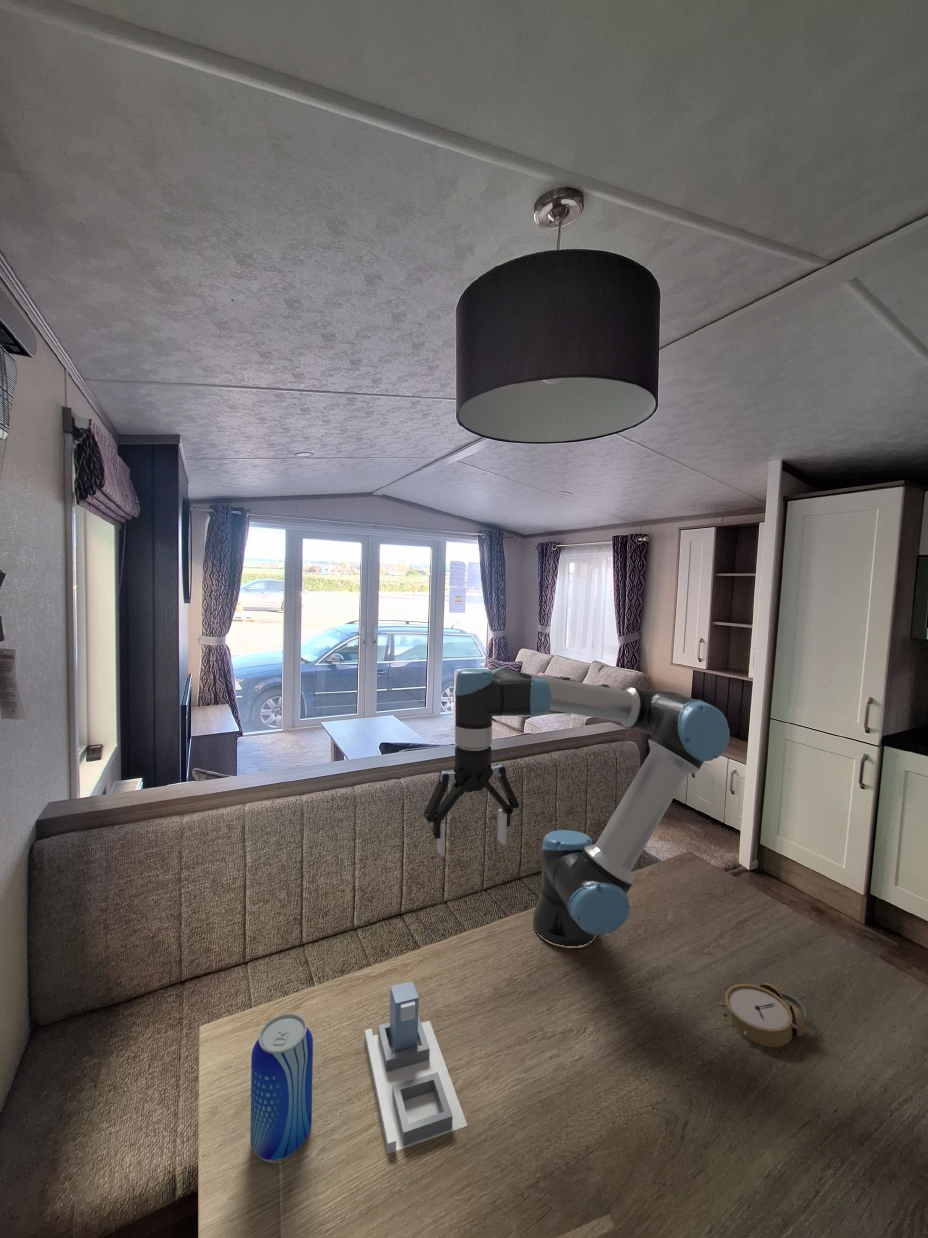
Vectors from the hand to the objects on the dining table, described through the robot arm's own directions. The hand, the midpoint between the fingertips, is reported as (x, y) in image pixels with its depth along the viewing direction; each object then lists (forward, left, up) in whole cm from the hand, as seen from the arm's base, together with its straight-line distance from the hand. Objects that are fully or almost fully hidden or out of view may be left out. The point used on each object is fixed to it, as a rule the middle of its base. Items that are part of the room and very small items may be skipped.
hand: (472, 847), depth 106 cm
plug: (+17, +12, -27) cm, 34 cm away
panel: (+17, +18, -28) cm, 38 cm away
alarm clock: (-51, +27, -29) cm, 64 cm away
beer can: (+37, +20, -28) cm, 51 cm away
